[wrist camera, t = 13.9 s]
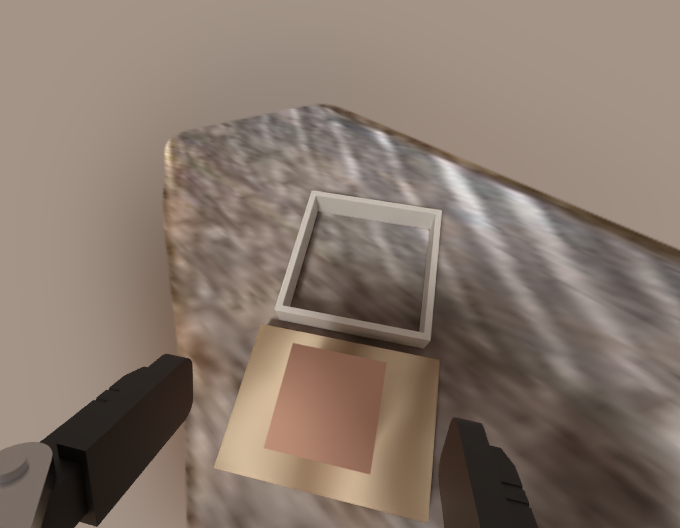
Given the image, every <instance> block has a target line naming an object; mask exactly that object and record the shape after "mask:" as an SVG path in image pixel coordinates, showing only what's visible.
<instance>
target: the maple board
mask: <svg viewBox="0 0 680 528" xmlns="http://www.w3.org/2000/svg"><path fill="white" fill-rule="evenodd" d="M293 343H296V344H301V345H306V346H310V347H315V348H320V349H325V350H329V351H334V352H339V353H344V354H349V355H353V356H358V357H363V358H368V359H372V360H377V361H382V362H387V364H386V370H385V377H384V384H383V391H382V398H381V405H380V412H379V419H378V426H377V432H376V439H375V446H374V453H373V460H372V467H371V474H365V473H361V472H357V471H353V470H349V469H345V468H341V467H337V466H333V465H329V464H325V463H321V462H317V461H313V460H309V459H305V458H301V457H297V456H293V455H289V454H285V453H281V452H277V451H273V450H269V449H265V448H264V445H265V441H266V438H267V434H268V431H269V427H270V423H271V420H272V416H273V412H274V409H275V405H276V402H277V398H278V394H279V391H280V387H281V384H282V380H283V376H284V373H285V369H286V366H287V362H288V358H289V355H290V351H291V348H292V344H293ZM439 366H440V360H438V359H433V358H428V357H423V356H418V355H413V354H408V353H403V352H398V351H393V350H388V349H383V348H378V347H373V346H368V345H363V344H359V343H354V342H349V341H344V340H339V339H334V338H329V337H324V336H319V335H314V334H309V333H304V332H299V331H294V330H289V329H284V328H280V327H275V326H270V325H265V324H261V325H260V328H259V331H258V335H257V338H256V341H255V344H254V347H253V350H252V353H251V356H250V359H249V362H248V365H247V368H246V371H245V374H244V377H243V381H242V384H241V387H240V390H239V393H238V396H237V399H236V402H235V405H234V408H233V411H232V414H231V417H230V420H229V423H228V426H227V430H226V433H225V436H224V439H223V442H222V445H221V448H220V451H219V454H218V457H217V460H216V463H215V466H214V468H216V469H220V470H223V471H227V472H231V473H235V474H239V475H243V476H247V477H251V478H255V479H258V480H262V481H266V482H270V483H274V484H278V485H282V486H286V487H290V488H293V489H297V490H301V491H305V492H309V493H313V494H317V495H321V496H325V497H328V498H332V499H336V500H340V501H344V502H348V503H352V504H356V505H360V506H364V507H367V508H371V509H375V510H379V511H383V512H387V513H391V514H395V515H399V516H402V517H406V518H410V519H414V520H418V521H422V522H426V523H428V519H429V505H430V491H431V477H432V464H433V450H434V436H435V422H436V408H437V394H438V380H439Z"/></svg>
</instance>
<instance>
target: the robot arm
mask: <svg viewBox="0 0 680 528" xmlns="http://www.w3.org/2000/svg"><path fill="white" fill-rule="evenodd" d="M192 403H193V370H192V361H191V360H190V359H189V358H184V357H180V356H175V355H170V354H164V355H162V356H161V357H160V358H159V359H157V360H156V361H155V362H154V363H153V364H151V365H150V366H149V367H142V368H140V369H137V370H136V371H133V372H131V373H129V374H127V375H125V376H123V377H122V378H121V379H120V380H118V381H117V382H116V383H115V384H113V385H112V386H111V387H110V388H109V390H106V391H104V392H103V393H102V394H101V395H99V396H98V397H97V399H96V400H93V401H92V402H90V403H89V404H88V405H87V406H85V407H84V408H83V409H81V410H80V411H79V412H78V413H76V414H75V415H74V416H73V417H71V418H70V419H69V420H68V421H67V422H65V423H64V424H62V425H61V426H60V427H59V428H57V429H56V430H55V431H54V432H52V433H51V434H50V435H48V436H47V437H46V438H45V439H44V440H42V441H41V442H29V443H22V444H18V445H14V446H11V447H8V448H5V449H3V450H1V451H0V528H74V527H75V526H76V525H77V524H78V523H79V522H83V523H86V524H89V525H93V526H96V527H97V526H98V525H99V524H100V523H101V522H102V520H103V519H104V518H105V517H106V515H107V514H108V513H109V512H110V511H111V509H112V508H113V507H114V506H115V505H116V503H117V502H118V501H119V500H120V498H121V497H122V496H123V495H124V494H125V492H126V491H127V490H128V489H129V488H130V486H131V485H132V484H133V483H134V481H135V480H136V479H137V478H138V477H139V475H140V474H141V473H142V471H143V470H144V469H145V468H146V467H147V466H148V464H149V463H150V462H151V461H152V459H153V458H154V457H155V456H156V455H157V453H158V452H159V451H160V450H161V449H162V447H163V446H164V445H165V444H166V442H167V441H168V440H169V439H170V437H171V436H172V435H173V434H174V433H175V432H176V430H177V429H178V428H179V427H180V425H181V424H182V423H183V422H184V421H185V419H186V418H187V416H188V414H189V412H190V410H191V407H192ZM439 487H440V495H441V503H442V511H443V519H444V528H538V526H537V523H536V521H535V518H534V515H533V513H532V510H531V508H529V502H528V499H527V497H526V494H525V491H524V490H523V489H522V487H523V486H522V483H521V481H520V478H519V476H518V473H517V470H516V468H515V466H514V464H513V463H512V462H511V461H510V459H509V458H508V457H507V455H506V454H505V453H504V452H503V450H502V449H501V448H498V447H494V446H489V443H488V440H487V437H486V433H485V430H484V427H483V425H482V424H481V423H478V422H473V421H468V420H464V419H459V418H455V417H454V418H453V419H452V420H451V423H450V426H449V430H448V433H447V437H446V440H445V444H444V447H443V451H442V454H441V458H440V464H439Z"/></svg>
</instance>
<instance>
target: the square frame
mask: <svg viewBox="0 0 680 528" xmlns="http://www.w3.org/2000/svg"><path fill="white" fill-rule="evenodd" d="M318 212H324V213H330V214H336V215H343V216H349V217H355V218H361V219H368V220H374V221H380V222H386V223H393V224H399V225H405V226H411V227H418V228H424V229H430V231H429V241H428V250H427V260H426V270H425V279H424V289H423V298H422V308H421V318H420V327H419V332H417V331H412V330H407V329H402V328H396V327H391V326H386V325H381V324H376V323H371V322H366V321H360V320H355V319H350V318H345V317H340V316H335V315H330V314H324V313H319V312H314V311H309V310H304V309H299V308H294V307H290V305H291V302H292V298H293V295H294V292H295V288H296V285H297V281H298V278H299V274H300V271H301V268H302V264H303V261H304V257H305V254H306V251H307V247H308V244H309V240H310V237H311V233H312V230H313V227H314V223H315V220H316V216H317V213H318ZM441 214H442V210H436V209H430V208H423V207H417V206H410V205H404V204H397V203H391V202H384V201H378V200H371V199H365V198H358V197H352V196H345V195H339V194H332V193H325V192H319V191H312V192H311V195H310V198H309V201H308V204H307V208H306V211H305V214H304V217H303V220H302V223H301V227H300V230H299V233H298V236H297V239H296V243H295V246H294V249H293V252H292V255H291V259H290V262H289V265H288V268H287V271H286V274H285V278H284V281H283V284H282V287H281V290H280V294H279V297H278V300H277V303H276V306H275V312H276V314H277V316H278V317H279V319H280V320H282V321H287V322H292V323H297V324H302V325H307V326H312V327H317V328H322V329H327V330H332V331H337V332H342V333H347V334H352V335H357V336H362V337H367V338H372V339H377V340H382V341H387V342H392V343H397V344H402V345H407V346H412V347H417V348H422V349H424V348H425V347H426V346H427V344H428V343H429V342H430V341H431V329H432V318H433V306H434V295H435V283H436V272H437V260H438V249H439V237H440V226H441Z"/></svg>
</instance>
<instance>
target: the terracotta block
mask: <svg viewBox="0 0 680 528" xmlns="http://www.w3.org/2000/svg"><path fill="white" fill-rule="evenodd" d="M386 364H387V362H382V361H377V360H372V359H368V358H363V357H358V356H353V355H349V354H344V353H339V352H334V351H329V350H325V349H320V348H315V347H310V346H306V345H301V344H296V343H293V344H292V348H291V351H290V355H289V358H288V362H287V366H286V369H285V373H284V376H283V380H282V384H281V387H280V391H279V394H278V398H277V402H276V405H275V409H274V412H273V416H272V420H271V423H270V427H269V431H268V434H267V438H266V441H265V445H264V448H265V449H269V450H273V451H277V452H281V453H285V454H289V455H293V456H297V457H301V458H305V459H309V460H313V461H317V462H321V463H325V464H329V465H333V466H337V467H341V468H345V469H349V470H353V471H357V472H361V473H365V474H371V467H372V460H373V453H374V446H375V439H376V432H377V426H378V419H379V412H380V405H381V398H382V391H383V384H384V377H385V370H386Z"/></svg>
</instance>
